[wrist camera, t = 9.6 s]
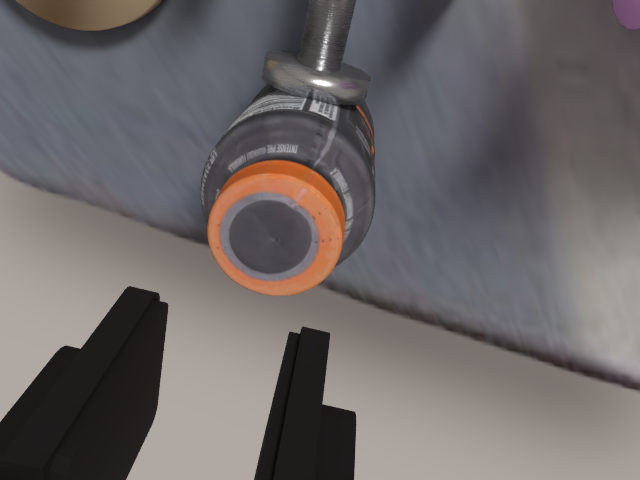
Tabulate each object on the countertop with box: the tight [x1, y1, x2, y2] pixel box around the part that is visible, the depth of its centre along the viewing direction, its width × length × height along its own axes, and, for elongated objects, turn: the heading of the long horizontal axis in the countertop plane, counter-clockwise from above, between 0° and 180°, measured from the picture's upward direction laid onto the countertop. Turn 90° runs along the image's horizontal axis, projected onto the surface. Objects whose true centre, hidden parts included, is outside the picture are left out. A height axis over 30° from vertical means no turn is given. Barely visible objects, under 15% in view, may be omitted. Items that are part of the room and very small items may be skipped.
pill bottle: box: [201, 84, 375, 296], centre depth 21 cm, size 6×6×11 cm
